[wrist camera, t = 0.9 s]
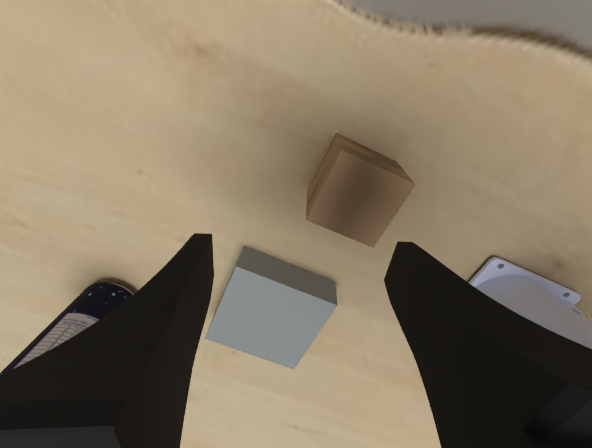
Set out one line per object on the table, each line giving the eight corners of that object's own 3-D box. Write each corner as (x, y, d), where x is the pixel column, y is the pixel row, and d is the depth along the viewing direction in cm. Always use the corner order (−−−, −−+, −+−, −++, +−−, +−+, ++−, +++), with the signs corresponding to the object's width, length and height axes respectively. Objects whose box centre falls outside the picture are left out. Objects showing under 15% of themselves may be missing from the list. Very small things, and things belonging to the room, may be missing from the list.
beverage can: (79, 278, 30) (-51, 396, 19) (134, 274, 29) (31, 394, 19) (102, 321, 32) (-1, 446, 22) (153, 319, 32) (72, 446, 21)
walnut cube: (396, 161, 23) (415, 184, 19) (362, 215, 25) (373, 247, 21) (336, 133, 22) (341, 150, 18) (307, 191, 25) (306, 219, 20)
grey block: (334, 279, 29) (337, 305, 26) (295, 340, 33) (293, 369, 30) (244, 243, 27) (236, 266, 24) (215, 311, 31) (204, 338, 28)
